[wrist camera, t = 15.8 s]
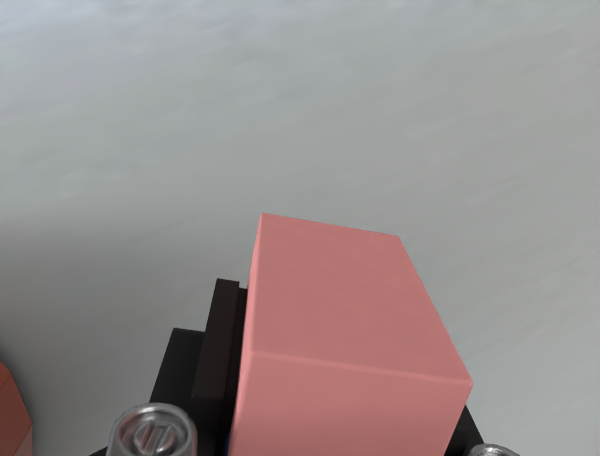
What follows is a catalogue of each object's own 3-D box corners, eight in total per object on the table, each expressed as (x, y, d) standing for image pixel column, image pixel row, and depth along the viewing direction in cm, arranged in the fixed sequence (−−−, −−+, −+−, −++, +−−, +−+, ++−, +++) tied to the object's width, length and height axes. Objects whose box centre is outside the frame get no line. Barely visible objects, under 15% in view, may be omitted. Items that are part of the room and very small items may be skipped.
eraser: (259, 210, 11) (245, 354, 7) (400, 234, 12) (481, 386, 7) (221, 414, 14) (192, 627, 9) (341, 429, 14) (371, 640, 9)
